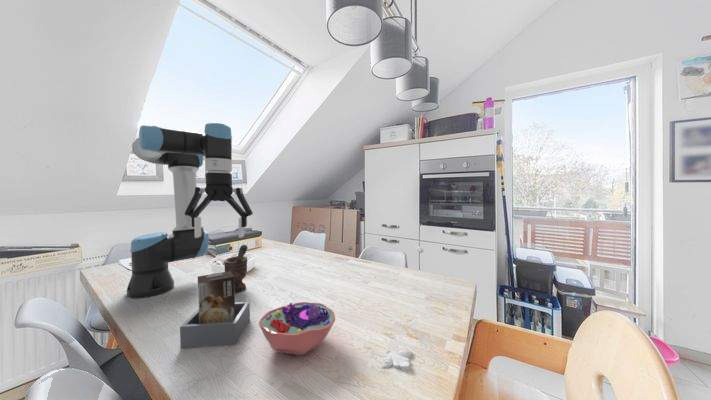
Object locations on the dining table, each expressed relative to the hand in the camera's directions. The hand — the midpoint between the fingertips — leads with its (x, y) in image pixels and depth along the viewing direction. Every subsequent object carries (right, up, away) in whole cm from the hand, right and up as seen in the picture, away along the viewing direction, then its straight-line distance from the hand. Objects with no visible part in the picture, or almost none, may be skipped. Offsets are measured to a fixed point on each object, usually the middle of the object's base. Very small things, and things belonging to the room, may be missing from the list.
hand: (219, 237), depth 83 cm
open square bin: (+4, -27, -9) cm, 29 cm away
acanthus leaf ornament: (+55, -29, -20) cm, 65 cm away
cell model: (+29, -28, -15) cm, 43 cm away
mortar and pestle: (-3, -26, +21) cm, 34 cm away
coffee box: (+4, -26, -9) cm, 28 cm away
